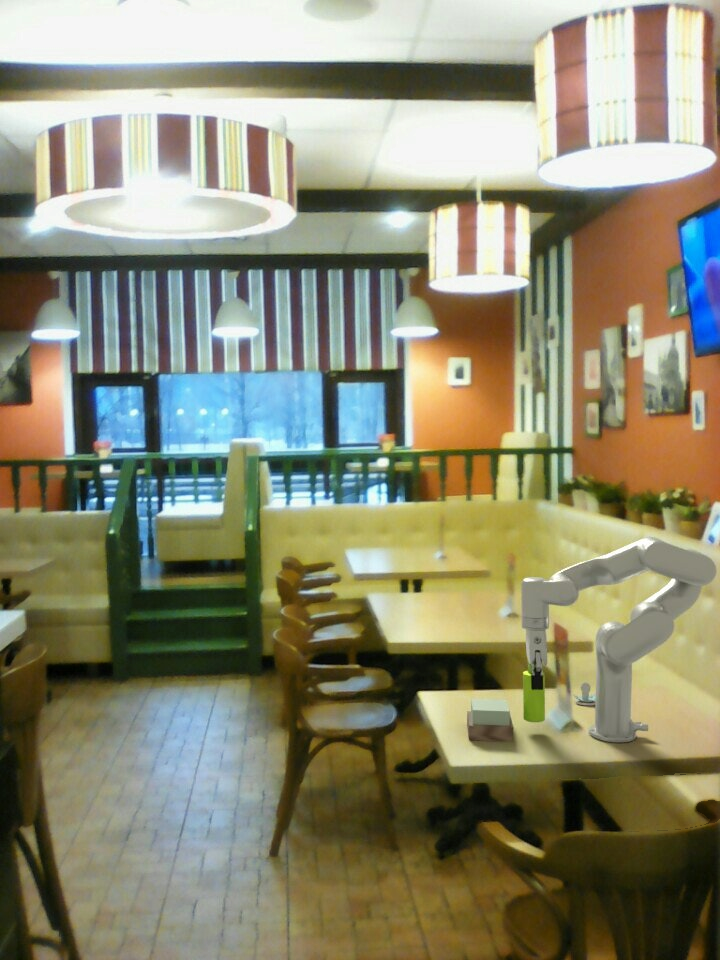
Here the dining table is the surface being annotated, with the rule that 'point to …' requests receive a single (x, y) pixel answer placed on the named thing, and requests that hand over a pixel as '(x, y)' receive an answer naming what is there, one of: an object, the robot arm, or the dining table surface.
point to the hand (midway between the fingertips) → (535, 685)
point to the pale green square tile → (490, 712)
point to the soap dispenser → (533, 698)
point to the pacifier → (586, 696)
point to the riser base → (489, 731)
